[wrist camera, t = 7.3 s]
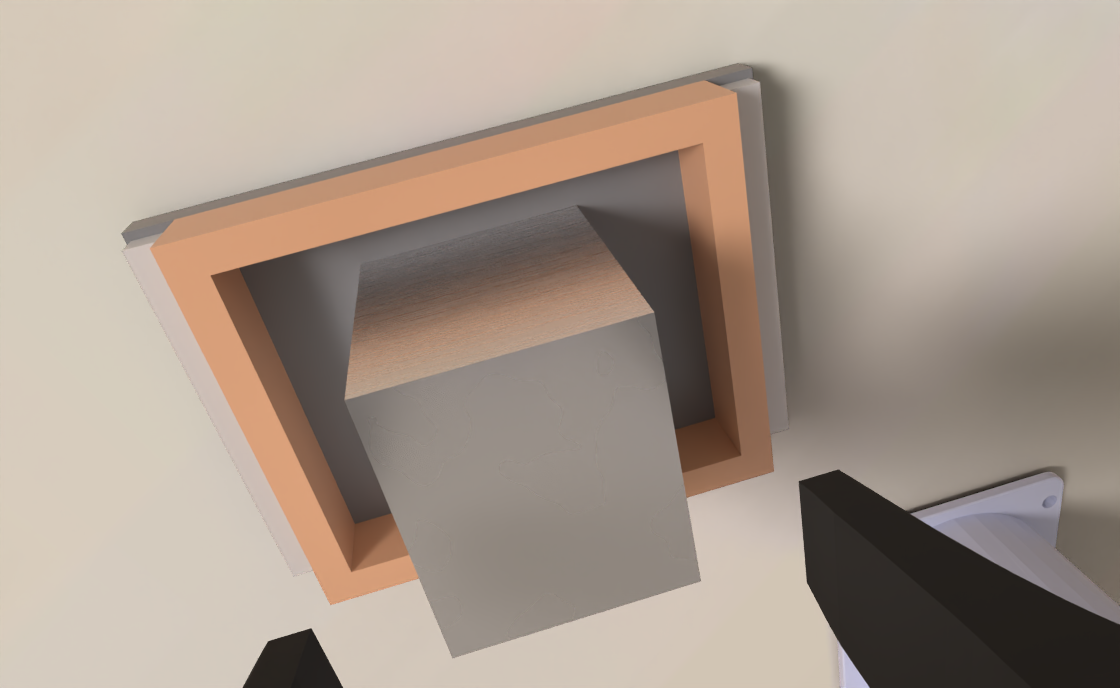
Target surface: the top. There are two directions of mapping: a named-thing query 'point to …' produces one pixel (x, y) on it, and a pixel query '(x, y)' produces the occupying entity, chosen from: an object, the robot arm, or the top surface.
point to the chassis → (453, 211)
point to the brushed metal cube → (520, 428)
